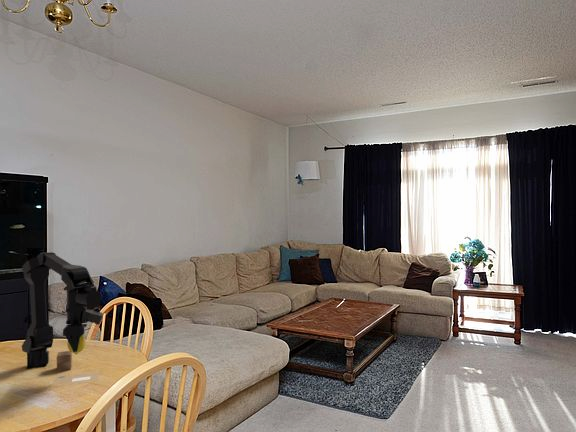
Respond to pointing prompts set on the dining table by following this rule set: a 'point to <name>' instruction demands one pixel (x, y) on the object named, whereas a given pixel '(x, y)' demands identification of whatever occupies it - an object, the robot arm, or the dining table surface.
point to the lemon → (80, 346)
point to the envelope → (76, 378)
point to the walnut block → (64, 361)
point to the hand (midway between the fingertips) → (76, 349)
